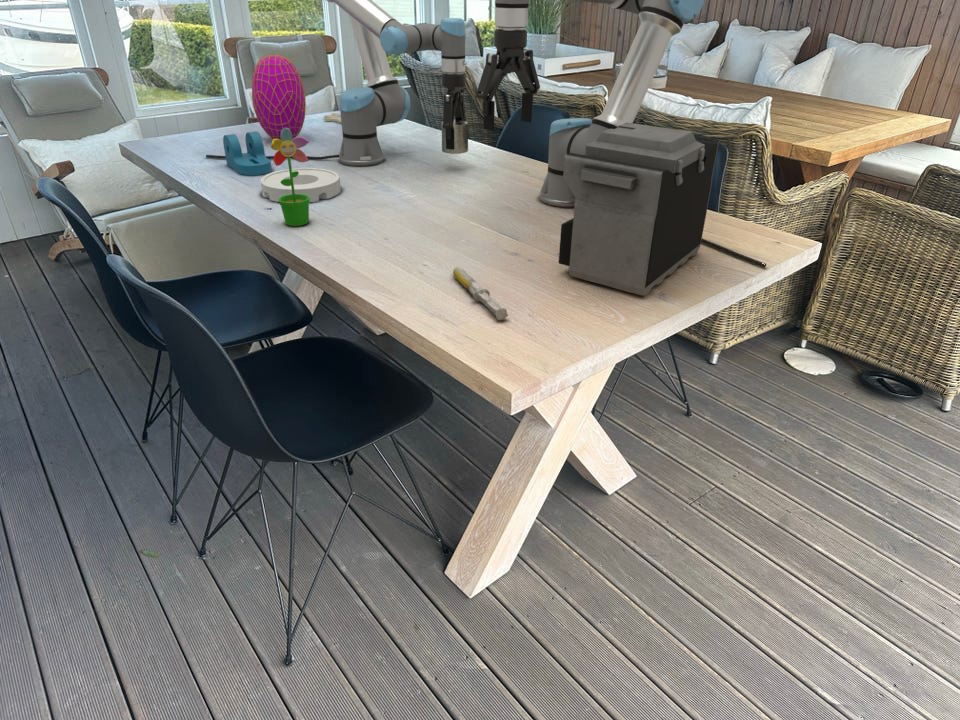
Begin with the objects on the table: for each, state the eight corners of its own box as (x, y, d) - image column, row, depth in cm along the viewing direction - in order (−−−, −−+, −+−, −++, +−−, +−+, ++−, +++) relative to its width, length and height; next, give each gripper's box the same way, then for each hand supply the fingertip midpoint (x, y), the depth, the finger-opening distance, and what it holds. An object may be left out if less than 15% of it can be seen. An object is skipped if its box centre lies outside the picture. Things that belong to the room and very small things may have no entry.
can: (469, 148, 232) (469, 120, 227) (466, 154, 224) (466, 125, 220) (444, 147, 232) (443, 119, 228) (440, 153, 225) (439, 125, 220)
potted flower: (284, 229, 179) (270, 130, 166) (277, 220, 185) (263, 124, 172) (319, 224, 183) (308, 127, 170) (311, 215, 188) (300, 121, 176)
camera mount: (227, 164, 233) (221, 132, 227) (257, 160, 238) (252, 129, 233) (244, 176, 220) (239, 143, 215) (276, 172, 225) (271, 139, 220)
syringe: (449, 274, 155) (449, 263, 153) (465, 272, 156) (464, 260, 154) (490, 323, 135) (491, 310, 133) (508, 319, 136) (508, 307, 134)
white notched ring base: (275, 179, 218) (273, 167, 216) (347, 181, 217) (346, 168, 215) (251, 202, 198) (249, 188, 196) (331, 204, 197) (330, 190, 195)
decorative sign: (315, 115, 300) (335, 113, 305) (315, 118, 300) (335, 115, 306) (347, 125, 283) (368, 122, 288) (347, 128, 283) (368, 125, 289)
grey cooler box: (622, 232, 180) (636, 112, 165) (704, 251, 169) (728, 124, 154) (550, 277, 154) (560, 140, 139) (641, 302, 143) (663, 157, 128)
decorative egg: (293, 132, 276) (283, 50, 261) (319, 140, 264) (310, 56, 249) (249, 139, 265) (236, 54, 250) (273, 148, 253) (261, 60, 238)
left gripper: (454, 78, 206) (455, 154, 218) (474, 68, 224) (474, 139, 236) (430, 76, 208) (433, 152, 220) (452, 67, 226) (454, 138, 237)
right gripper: (533, 24, 166) (529, 115, 176) (460, 30, 150) (460, 130, 161) (558, 26, 161) (552, 120, 172) (485, 33, 146) (483, 135, 156)
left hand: (454, 145), depth 228 cm, fingers closed on can, 9 cm apart
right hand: (507, 125), depth 166 cm, fingers open, 13 cm apart
